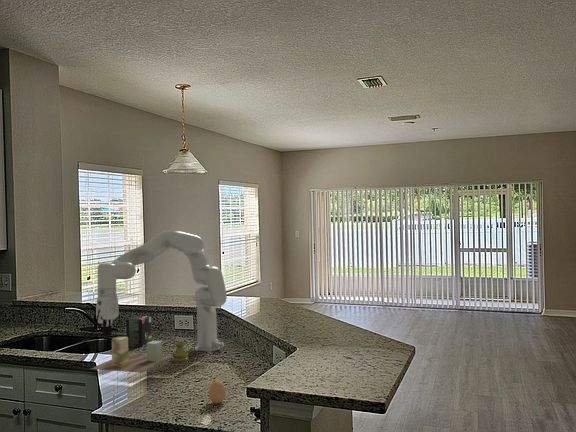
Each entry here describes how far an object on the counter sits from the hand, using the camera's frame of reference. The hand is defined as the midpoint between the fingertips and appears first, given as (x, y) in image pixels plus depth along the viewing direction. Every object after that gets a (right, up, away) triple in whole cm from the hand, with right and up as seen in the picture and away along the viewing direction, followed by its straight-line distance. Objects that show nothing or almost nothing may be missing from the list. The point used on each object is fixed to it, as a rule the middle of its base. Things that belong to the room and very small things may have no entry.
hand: (106, 335), depth 228 cm
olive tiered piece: (+28, -16, +15) cm, 36 cm away
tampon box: (0, -17, +51) cm, 54 cm away
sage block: (+16, -15, +17) cm, 28 cm away
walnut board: (+8, -16, +13) cm, 22 cm away
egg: (+52, -15, -39) cm, 67 cm away
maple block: (+3, -15, +8) cm, 18 cm away
